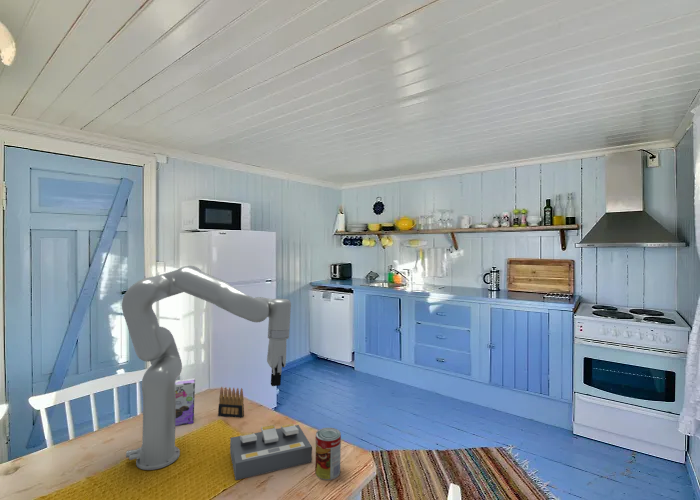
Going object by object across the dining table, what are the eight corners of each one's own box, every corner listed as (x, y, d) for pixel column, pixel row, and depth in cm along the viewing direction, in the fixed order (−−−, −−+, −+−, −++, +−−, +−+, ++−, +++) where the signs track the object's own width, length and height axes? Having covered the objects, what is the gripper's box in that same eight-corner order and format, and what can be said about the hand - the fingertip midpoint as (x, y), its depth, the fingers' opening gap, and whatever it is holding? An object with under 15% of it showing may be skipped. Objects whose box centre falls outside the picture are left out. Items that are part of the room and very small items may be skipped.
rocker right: (286, 435, 118) (285, 431, 118) (281, 429, 124) (281, 425, 124) (298, 433, 119) (298, 429, 120) (293, 427, 126) (293, 423, 126)
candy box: (154, 429, 134) (155, 386, 134) (156, 422, 140) (157, 381, 140) (193, 423, 139) (194, 382, 140) (194, 417, 145) (195, 377, 145)
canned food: (323, 461, 115) (324, 425, 115) (344, 469, 111) (345, 431, 112) (310, 475, 108) (310, 436, 108) (332, 483, 104) (332, 442, 105)
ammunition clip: (244, 416, 147) (244, 387, 147) (242, 418, 145) (242, 389, 145) (220, 414, 148) (220, 385, 148) (217, 416, 146) (218, 387, 146)
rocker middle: (264, 443, 115) (265, 440, 114) (261, 430, 121) (261, 426, 121) (278, 440, 116) (278, 437, 116) (273, 427, 123) (274, 424, 123)
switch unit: (235, 480, 105) (235, 459, 105) (230, 452, 120) (230, 433, 120) (311, 461, 115) (311, 442, 115) (298, 438, 129) (298, 421, 130)
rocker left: (242, 442, 112) (242, 438, 112) (240, 439, 118) (240, 434, 118) (256, 440, 114) (256, 435, 114) (253, 436, 120) (253, 432, 120)
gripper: (264, 329, 130) (261, 379, 130) (272, 338, 117) (268, 394, 116) (284, 328, 133) (281, 377, 133) (294, 338, 120) (291, 391, 119)
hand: (275, 385), depth 124 cm, fingers closed
